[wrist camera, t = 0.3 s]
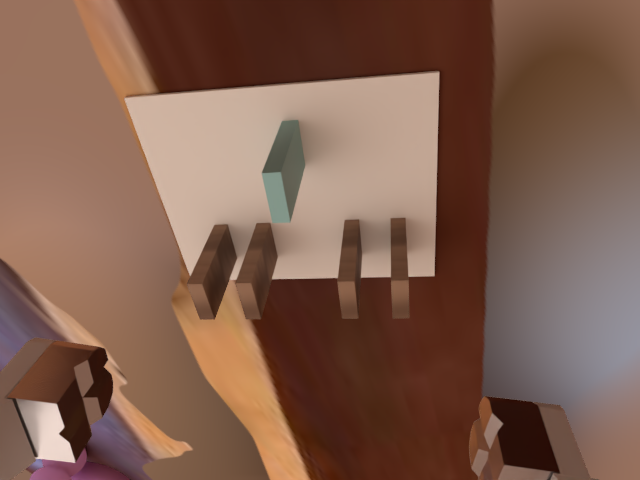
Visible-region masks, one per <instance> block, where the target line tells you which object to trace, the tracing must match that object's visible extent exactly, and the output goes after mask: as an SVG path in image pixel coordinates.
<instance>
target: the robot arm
mask: <svg viewBox="0 0 640 480" xmlns="http://www.w3.org/2000/svg"><path fill="white" fill-rule="evenodd" d="M107 361H108V358H107V354H106V351H105V349H104V348H101V347H96V346H89V345H83V344H77V343H70V342H64V341H55V340H49V339H42V338H33V339H31V340H29V341H28V342H26V344H25V345H24V346H23V347H22V348H21V349H20V350H19V351H18V353H17V354H16V355H15V356H14V357H13V358H12V359H11V361H10V362H9V363H8V364H7V365H6V366H5V367H4V368H3V370H2V371H1V372H0V480H11V479H13V478H14V477H15V476H17V475H18V474H19V473H21V472H22V471H23V470H24V469H26V468H27V467H28V466H30V465H31V464H32V463H34V462H35V461H36V459H35V458H37V459H46V460H55V461H64V462H73V463H76V461H77V460H78V458H79V456H80V455H81V453H82V451H83V450H84V448H85V446H86V445H87V443H88V441H89V439H90V438H91V436H92V433H91V428H90V425H92V424H93V423H95V422H96V421H98V420H99V419H101V418H102V417H103V415H104V414H105V412H106V410H107V408H108V406H109V403H110V400H111V397H112V393H113V380H112V375H111V374H110V373H109V372H108V371H107V370H106V369H105V368H104V366H105V364H106V362H107ZM479 412H480V419H478V420H477V421H475V422H474V423H473V426H472V430H471V433H470V443H469V452H470V462H471V468H472V470H473V471H474V472H475V473H476V474H477V475H478V477H479V479H478V480H598V479H592V478H590V476H589V473H588V470H587V468H586V465H585V463H584V460H583V458H582V455H581V452H580V450H579V448H578V445H577V442H576V440H575V437H574V434H573V432H572V430H571V427H570V424H569V422H568V419H567V416H566V414H565V411H564V409H563V408H562V407H561V406H560V405H554V404H546V403H538V402H534V403H533V402H531V401H522V400H514V399H505V398H497V397H488V396H485V397H484V398H483V399H482V400H481V403H480V406H479Z"/></svg>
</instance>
